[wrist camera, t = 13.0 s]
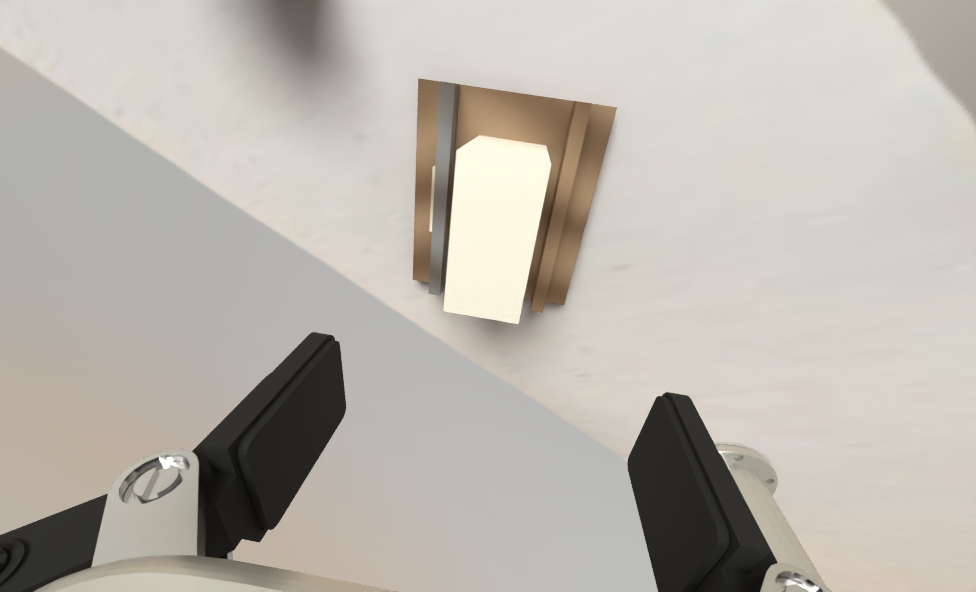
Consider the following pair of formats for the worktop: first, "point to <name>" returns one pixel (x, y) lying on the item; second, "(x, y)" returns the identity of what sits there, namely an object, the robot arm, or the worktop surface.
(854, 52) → the worktop surface
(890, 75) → the worktop surface
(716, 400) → the worktop surface
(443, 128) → the shelf
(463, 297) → the box
